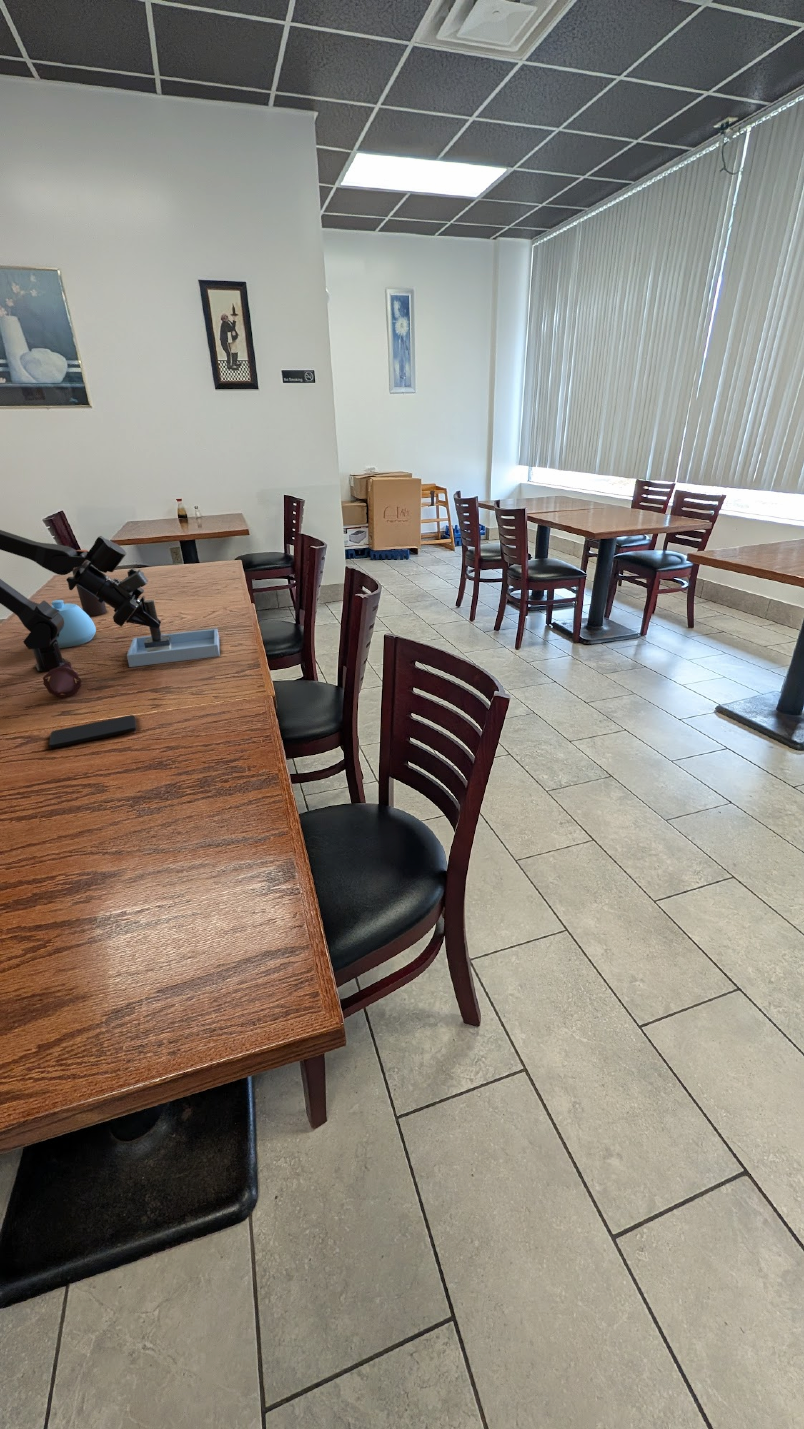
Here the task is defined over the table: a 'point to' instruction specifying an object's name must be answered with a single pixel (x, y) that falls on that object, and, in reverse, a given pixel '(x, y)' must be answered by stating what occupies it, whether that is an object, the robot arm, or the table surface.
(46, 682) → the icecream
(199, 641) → the tray
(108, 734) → the smartphone
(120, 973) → the table surface
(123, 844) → the table surface
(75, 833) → the table surface
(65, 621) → the sugar bowl
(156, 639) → the brush
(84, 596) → the bottle
